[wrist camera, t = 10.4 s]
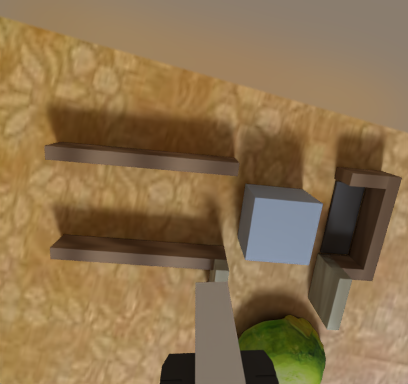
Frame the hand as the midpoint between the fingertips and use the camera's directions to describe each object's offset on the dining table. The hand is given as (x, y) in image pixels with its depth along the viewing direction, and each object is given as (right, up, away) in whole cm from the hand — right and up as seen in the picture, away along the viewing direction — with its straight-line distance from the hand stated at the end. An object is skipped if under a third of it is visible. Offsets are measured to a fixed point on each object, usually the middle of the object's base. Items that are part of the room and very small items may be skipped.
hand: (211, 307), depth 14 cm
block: (+7, +3, +17) cm, 18 cm away
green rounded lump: (+8, -14, +22) cm, 27 cm away
